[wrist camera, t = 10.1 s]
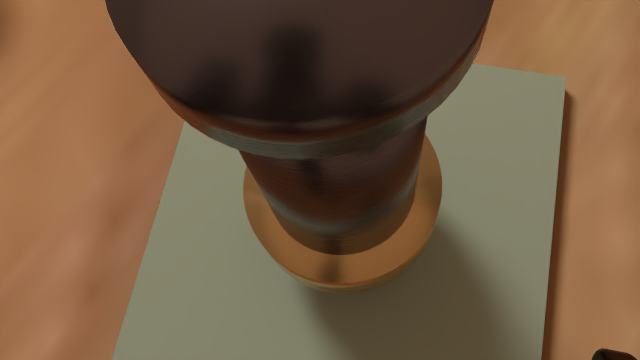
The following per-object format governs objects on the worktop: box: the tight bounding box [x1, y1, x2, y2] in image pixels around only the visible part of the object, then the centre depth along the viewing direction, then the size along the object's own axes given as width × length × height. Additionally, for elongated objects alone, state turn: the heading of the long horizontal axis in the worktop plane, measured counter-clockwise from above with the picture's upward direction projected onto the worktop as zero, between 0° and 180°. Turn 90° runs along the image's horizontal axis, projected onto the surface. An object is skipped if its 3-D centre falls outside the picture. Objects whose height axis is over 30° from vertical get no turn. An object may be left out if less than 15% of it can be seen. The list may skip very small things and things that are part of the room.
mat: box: [112, 63, 566, 360], centre depth 21 cm, size 13×13×1 cm
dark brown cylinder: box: [105, 0, 494, 294], centre depth 14 cm, size 5×5×13 cm
